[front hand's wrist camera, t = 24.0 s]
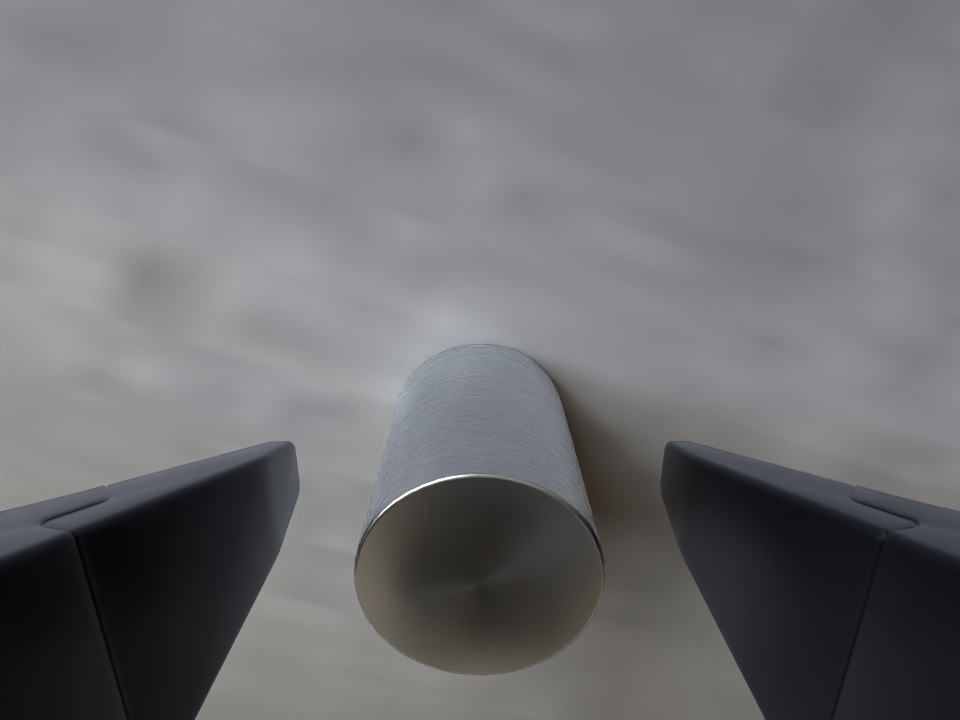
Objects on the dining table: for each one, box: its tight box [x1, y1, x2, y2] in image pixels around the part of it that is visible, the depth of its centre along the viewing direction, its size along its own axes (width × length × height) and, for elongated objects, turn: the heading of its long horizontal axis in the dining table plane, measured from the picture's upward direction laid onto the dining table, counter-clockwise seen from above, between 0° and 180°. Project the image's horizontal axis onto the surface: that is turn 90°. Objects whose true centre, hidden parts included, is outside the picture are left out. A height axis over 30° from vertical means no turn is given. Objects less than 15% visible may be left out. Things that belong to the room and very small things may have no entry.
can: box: [354, 344, 606, 675], centre depth 11 cm, size 4×4×5 cm
